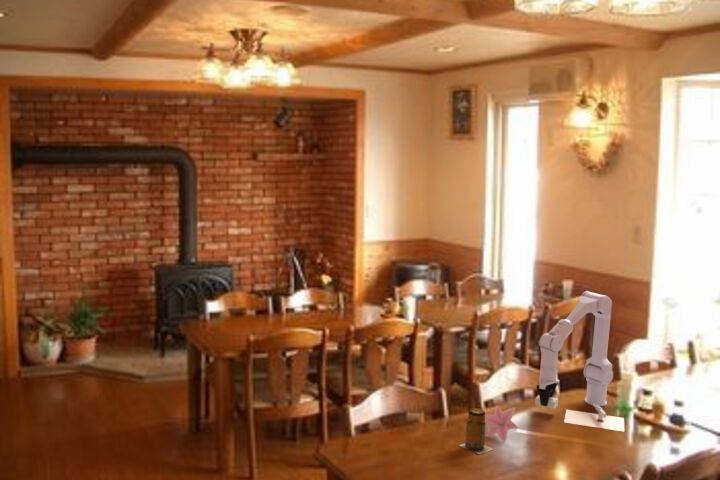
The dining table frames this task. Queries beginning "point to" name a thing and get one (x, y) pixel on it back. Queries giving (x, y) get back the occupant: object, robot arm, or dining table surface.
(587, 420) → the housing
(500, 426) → the lily
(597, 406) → the t key
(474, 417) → the condiment
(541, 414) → the dining table surface
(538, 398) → the cover
